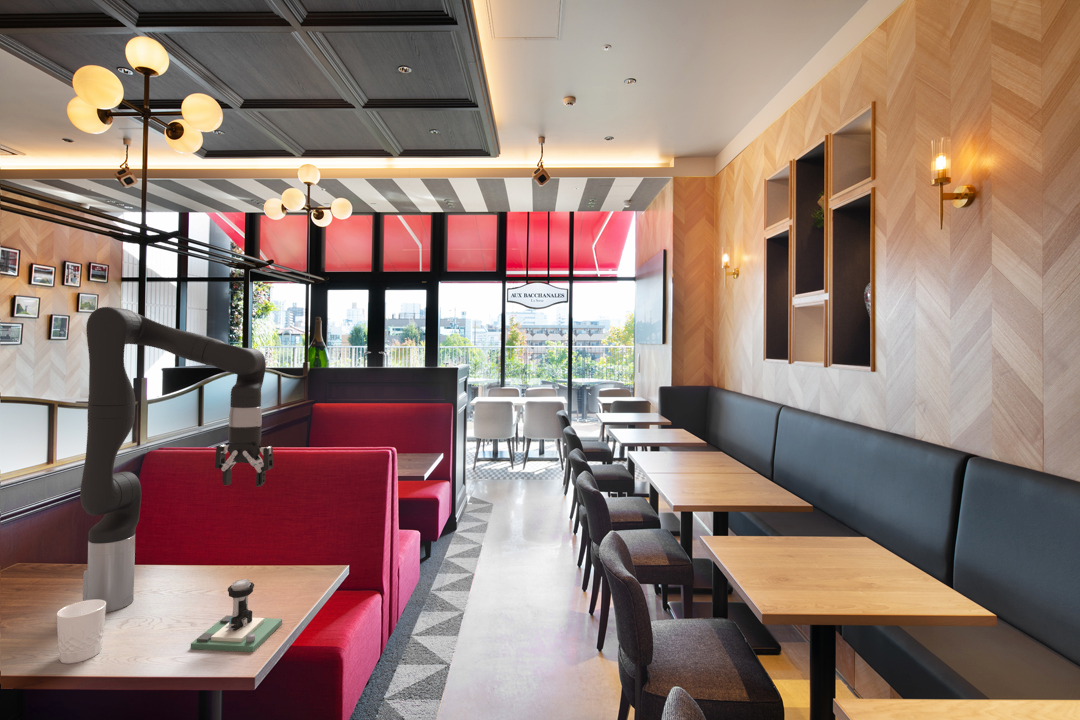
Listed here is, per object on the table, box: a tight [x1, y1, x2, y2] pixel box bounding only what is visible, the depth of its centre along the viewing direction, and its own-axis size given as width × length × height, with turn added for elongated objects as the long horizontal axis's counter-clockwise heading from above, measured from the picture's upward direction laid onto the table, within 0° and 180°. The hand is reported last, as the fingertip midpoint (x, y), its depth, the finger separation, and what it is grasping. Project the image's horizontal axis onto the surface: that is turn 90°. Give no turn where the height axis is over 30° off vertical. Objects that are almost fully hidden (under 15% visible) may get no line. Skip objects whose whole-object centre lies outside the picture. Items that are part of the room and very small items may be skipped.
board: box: [190, 615, 283, 653], centre depth 120 cm, size 14×12×2 cm
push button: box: [225, 578, 255, 632], centre depth 120 cm, size 7×5×10 cm
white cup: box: [56, 600, 106, 664], centre depth 111 cm, size 8×8×10 cm
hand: (243, 485), depth 137 cm, fingers open, 8 cm apart
